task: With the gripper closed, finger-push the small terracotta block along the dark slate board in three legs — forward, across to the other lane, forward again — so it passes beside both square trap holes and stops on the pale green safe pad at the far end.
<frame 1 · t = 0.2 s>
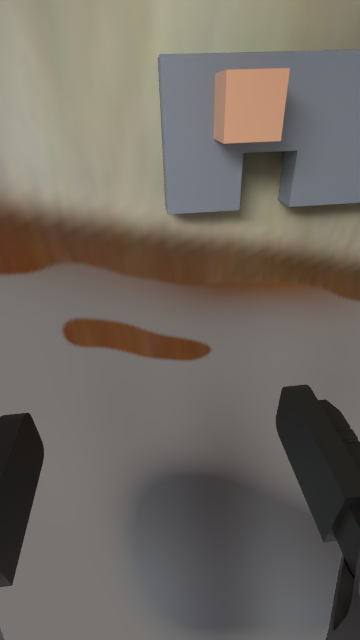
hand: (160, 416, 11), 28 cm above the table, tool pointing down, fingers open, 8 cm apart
block: (240, 106, 27), point 3 cm above the table, touching board
board: (321, 133, 32), on the table
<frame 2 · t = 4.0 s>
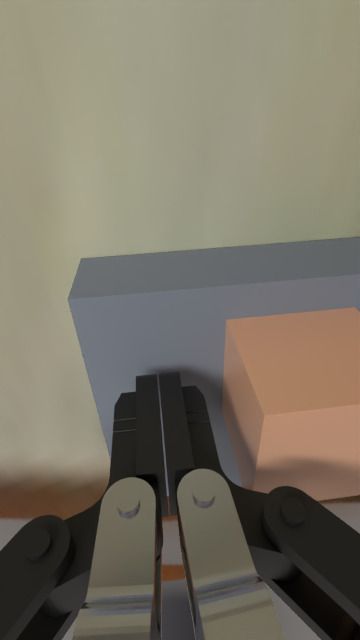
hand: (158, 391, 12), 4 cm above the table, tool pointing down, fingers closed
block: (282, 363, 12), point 3 cm above the table, touching gripper
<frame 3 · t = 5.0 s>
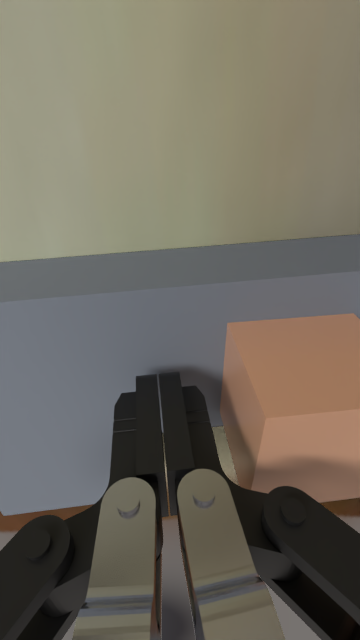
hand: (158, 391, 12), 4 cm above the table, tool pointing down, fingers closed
block: (280, 366, 13), point 3 cm above the table, touching gripper
board: (302, 352, 16), on the table
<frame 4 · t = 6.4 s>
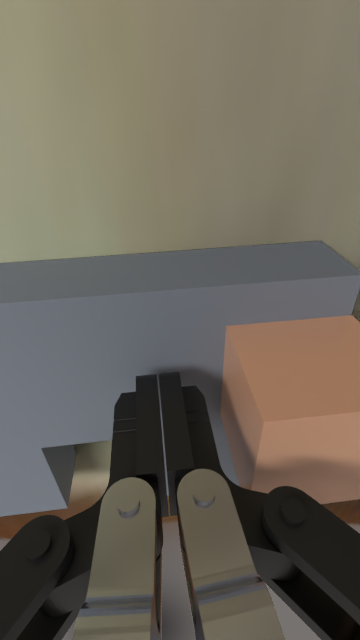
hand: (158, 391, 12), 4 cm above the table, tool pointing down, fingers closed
block: (280, 368, 13), point 3 cm above the table, touching board, gripper
board: (226, 362, 16), on the table
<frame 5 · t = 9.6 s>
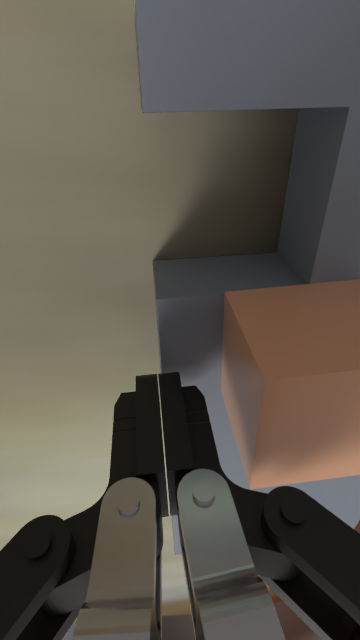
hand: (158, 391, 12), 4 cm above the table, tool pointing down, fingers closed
block: (283, 340, 12), point 3 cm above the table, touching board, gripper
board: (286, 321, 15), on the table
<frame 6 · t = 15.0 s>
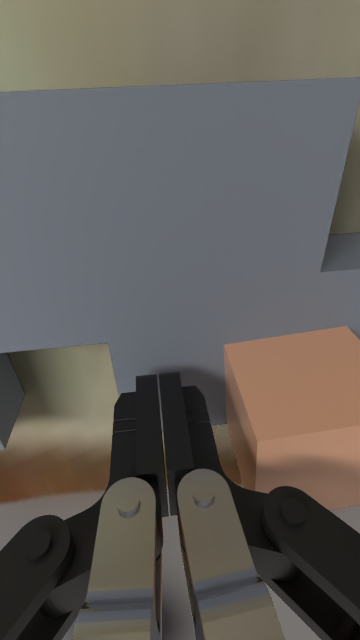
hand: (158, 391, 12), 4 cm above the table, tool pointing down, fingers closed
block: (281, 379, 13), point 3 cm above the table, touching board
board: (196, 268, 13), on the table
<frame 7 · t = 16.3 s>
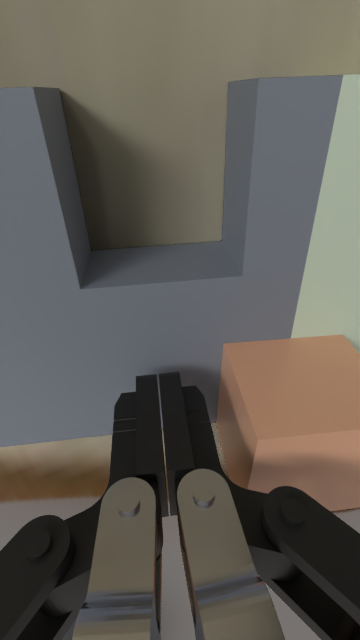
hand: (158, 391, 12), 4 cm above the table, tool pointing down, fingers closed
block: (274, 383, 13), point 3 cm above the table, touching board, gripper
board: (4, 281, 13), on the table
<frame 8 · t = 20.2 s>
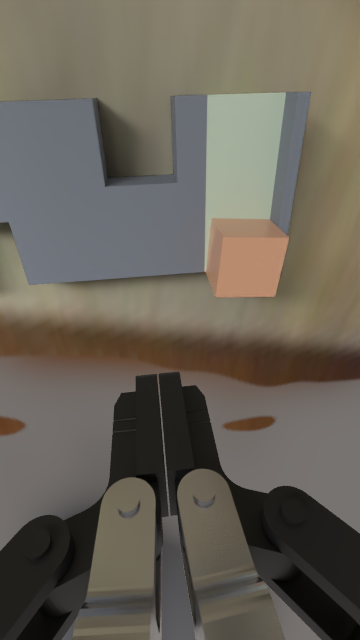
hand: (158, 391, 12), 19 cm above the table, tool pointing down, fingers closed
block: (236, 247, 26), point 3 cm above the table, touching board
board: (63, 194, 25), on the table
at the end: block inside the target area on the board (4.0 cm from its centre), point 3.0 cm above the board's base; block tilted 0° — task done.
